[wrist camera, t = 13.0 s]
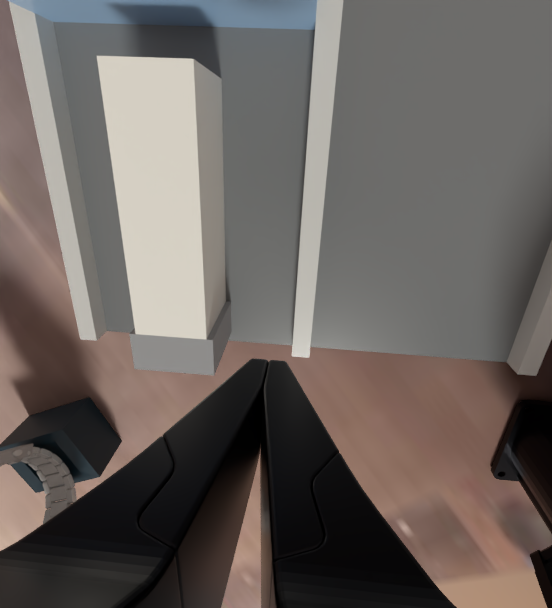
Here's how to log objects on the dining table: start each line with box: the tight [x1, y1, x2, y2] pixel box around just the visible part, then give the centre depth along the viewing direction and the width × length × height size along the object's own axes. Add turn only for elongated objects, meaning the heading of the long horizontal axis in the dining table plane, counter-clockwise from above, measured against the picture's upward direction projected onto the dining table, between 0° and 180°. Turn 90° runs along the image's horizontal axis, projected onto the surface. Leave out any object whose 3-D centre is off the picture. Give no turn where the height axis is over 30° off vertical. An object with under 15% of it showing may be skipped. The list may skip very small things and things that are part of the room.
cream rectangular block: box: [97, 56, 231, 375], centre depth 17 cm, size 13×4×4 cm, turn 178°
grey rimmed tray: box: [7, 0, 552, 376], centre depth 17 cm, size 17×26×4 cm, turn 88°
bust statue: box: [0, 397, 122, 524], centre depth 22 cm, size 6×8×11 cm
